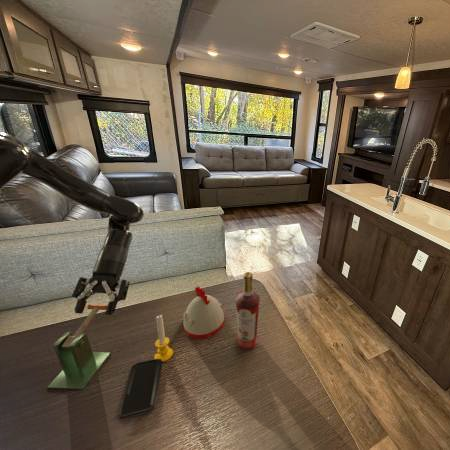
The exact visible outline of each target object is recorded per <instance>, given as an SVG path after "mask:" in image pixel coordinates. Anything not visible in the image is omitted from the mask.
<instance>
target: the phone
mask: <svg viewBox="0 0 450 450" xmlns="http://www.w3.org/2000/svg"><path fill="white" fill-rule="evenodd" d="M162 367H163V362H162V360H161V359H154V358H153V359H150V360H145V361H140V362H135V363H134V364H132V366H131V367H130V372H129V375H128V378H127V382H126V385H125V390H124V393H123V397H122V400H121V403H120V404H121V405H120V407H119V410H118V417H119V419H125V418H128V419H131V418H134V417H135V418H136V417H138V416H142V415H145V414H149V413H151V412H153V411H154V410H155V409H156V403H157V398H158V393H159V391H158V390H159V386H160V379H161V374H162Z"/></svg>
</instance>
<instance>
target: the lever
mask: <svg viewBox="0 0 450 450" xmlns="http://www.w3.org/2000/svg"><path fill="white" fill-rule="evenodd" d="M107 306H108V304H92V303H90V304H88V305H87V307H86V309H87V310H91V311H90V312H89V314H88V316H87V317H86V318H85V320H84V321H83V322H82V323H81V325H80V326H79V328H78V329H77V330H76V332H75V333H74V334H73V335H72V336H69V337H68V338H67V340H66V341H65V342H64V344H63V345H62V346H61V347H62V348H63V349H65V350H66V351H71V350H70V347H69V345H70V344H71V343H72V342H73V341H74V340H75V339H76V338H77V337H78V336H79V335H80V334H81V333H82V332H83V333H85V331H86V329H87V328H88V326H89V325H90V323H91V322H92V320H93V319H94V318H95V316H96V315H97V313H98V312H99V311H106V310H107Z"/></svg>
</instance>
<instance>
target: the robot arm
mask: <svg viewBox="0 0 450 450" xmlns="http://www.w3.org/2000/svg"><path fill="white" fill-rule="evenodd" d="M21 174H22V175H26V176H29V177H31V178H33V179H35V180H38V181H39V182H41V183H43V184H45V185H47V186H48V187H50V188H51V189H53V190H55V191H56V192H58V194H60V195H62V196H63V197H65V198H67V199H69V200H70V201H72V202H74V203H76V204H78V205H80V206H82V207H84V208H87V209H89V210H90V211H93V212H95V213H99V214H109V217H108V223H107V234H106V236H105V238H104V241H103V245H102V247H101V248H100V250H99V252H98V256H97V258H96V261H95V264H94V267H93V269H92V271H91V272H92V273H91V274H92V275H91V277H90V278H87V277H83V276H81V277H79V278H78V281H77V283H76V285H75V287H74V290H73V292H72V295H71V297H72V298H74V299H77V301H76V304H75V307H74V314H83V313H84V311H85V308H86V305H87V303H88V299H90V298H91V297H92V296H94V295H95V294H104V295H105V294H106V295H107V296H108V298H109V300H110V301H108V303H107V305H108V306H107V309H106V310H105V313H104V314H105V315H106V316H112V315H113V314H115V311H116V308H117V305H118V303H119V302H120V301H126V299H127V296H128V291H129V287H130V281H129V280H127V279H121V277H122V276H123V272H124V269H125V265H126V263H127V259H128V255H129V251H130V247H131V244H132V240H133V233H132V232H131V231H130V227H131V225H134V224H137V223H139V222H141V221H142V220H143V218H144V216H145V215H144V214H145V213H144V210H143V208H142V207H141V206H140V205H139V204H137V203H136V202H133V201H131V200H130V199H126V198H123V197H120V196H117V195H114V194H111V193H109V192H107V191H106V190H104V189H102V188H100V187H98V186H96V185H94V184H93V183H90V182H89V181H87V180H84V179H83V178H81V177H79V176H77V175H75V174H73V173H72V172H69V171H68V170H66V169H64V168H62V167H61V166H59V165H58V164H56V163H55V162H52V161H51V160H50V159H48V158H47V157H45V156H43V155H42V154H40V153H39V152H38V151H37V150H35V149H33V148H32V147H31V146H29V145H28V144H26V143H25V142H23V141H22V140H20V138H17V137H16V136H14V135H11V134H8V133H4V132H0V191H1V190H2V189H3V188H5V187H6V186H7V185H8V184H9V183H10V182H11V181H13V180H14V179H15V178H16V177H18V176H19V175H21ZM117 287H119V289H118V290H117Z"/></svg>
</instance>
